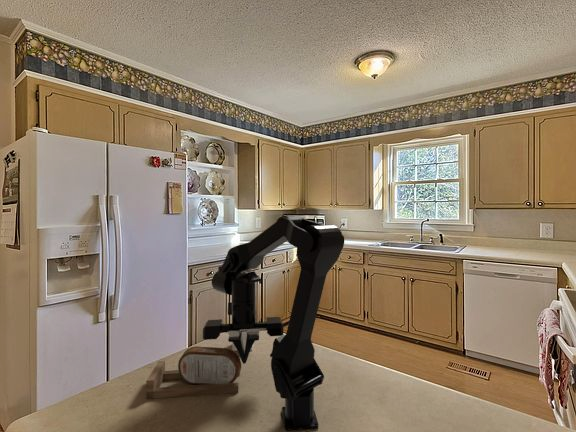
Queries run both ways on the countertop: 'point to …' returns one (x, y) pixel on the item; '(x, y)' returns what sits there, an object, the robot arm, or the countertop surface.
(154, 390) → the wooden frame
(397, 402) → the countertop surface
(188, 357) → the tin
